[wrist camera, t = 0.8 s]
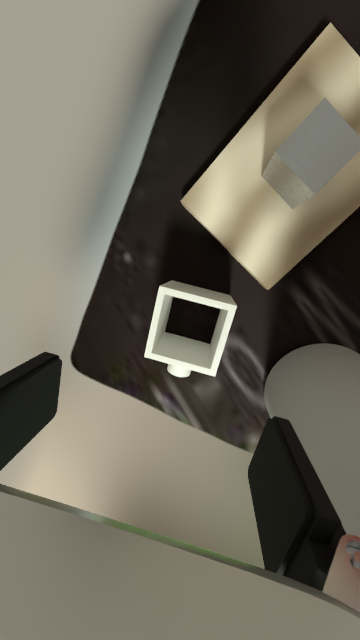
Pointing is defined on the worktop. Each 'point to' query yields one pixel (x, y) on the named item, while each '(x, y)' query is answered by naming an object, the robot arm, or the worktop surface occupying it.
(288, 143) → the block
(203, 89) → the worktop surface
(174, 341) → the duct collar
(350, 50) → the board
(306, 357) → the cylinder vase
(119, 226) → the worktop surface
